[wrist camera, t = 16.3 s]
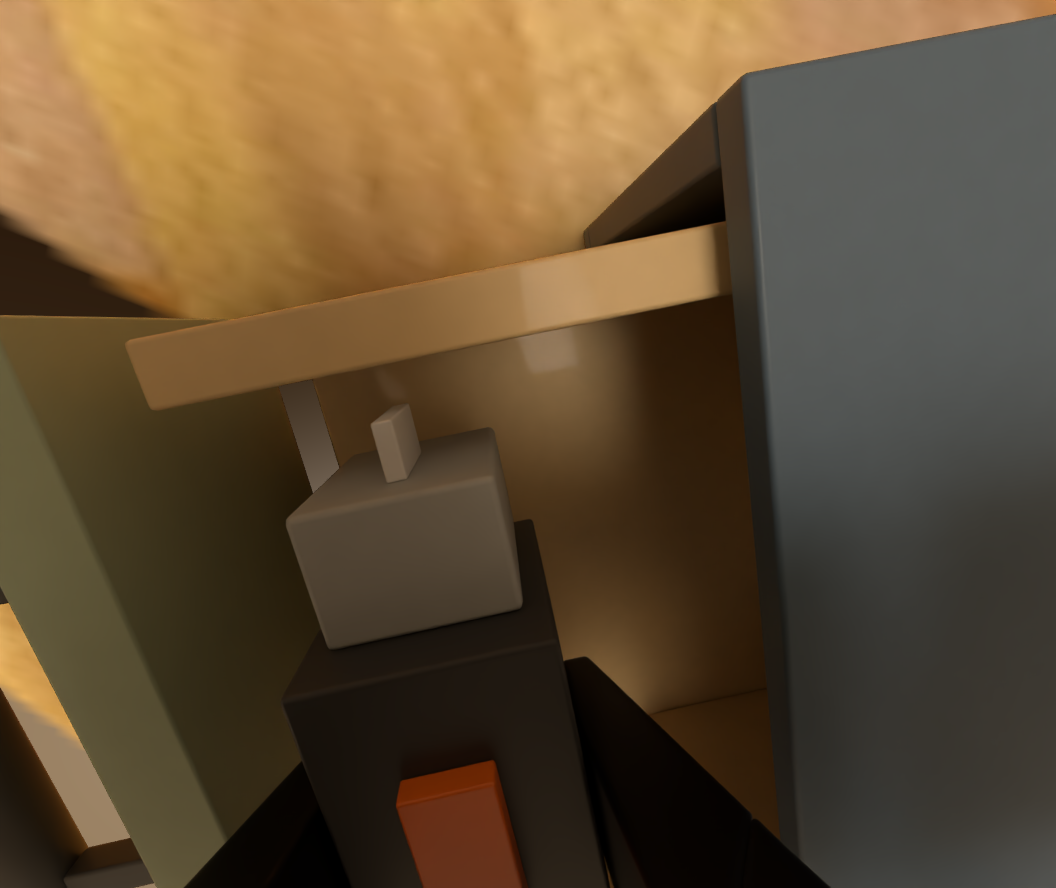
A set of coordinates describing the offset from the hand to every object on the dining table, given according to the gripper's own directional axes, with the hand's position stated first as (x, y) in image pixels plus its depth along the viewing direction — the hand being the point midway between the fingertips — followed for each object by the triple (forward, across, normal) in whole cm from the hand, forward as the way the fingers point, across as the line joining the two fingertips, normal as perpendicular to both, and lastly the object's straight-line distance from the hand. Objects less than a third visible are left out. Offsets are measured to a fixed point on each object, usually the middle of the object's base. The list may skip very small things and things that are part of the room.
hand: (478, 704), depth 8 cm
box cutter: (+1, 0, 0) cm, 1 cm away
